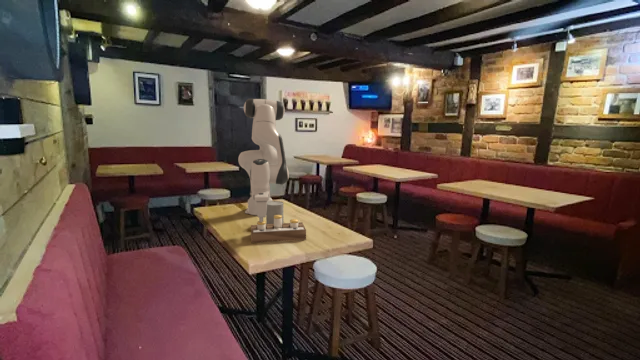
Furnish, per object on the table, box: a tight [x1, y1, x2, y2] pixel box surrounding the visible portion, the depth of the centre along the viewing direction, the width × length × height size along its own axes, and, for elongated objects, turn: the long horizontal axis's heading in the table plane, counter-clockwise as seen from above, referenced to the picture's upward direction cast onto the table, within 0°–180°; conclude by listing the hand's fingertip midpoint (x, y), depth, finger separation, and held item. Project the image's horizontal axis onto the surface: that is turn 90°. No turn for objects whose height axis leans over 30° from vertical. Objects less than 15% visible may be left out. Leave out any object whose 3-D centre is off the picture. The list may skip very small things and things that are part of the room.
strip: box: [253, 227, 304, 233], centre depth 160 cm, size 3×24×1 cm, turn 102°
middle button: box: [274, 215, 282, 229], centre depth 164 cm, size 4×4×8 cm
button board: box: [250, 222, 307, 244], centre depth 165 cm, size 12×26×5 cm, turn 102°
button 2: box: [289, 218, 299, 228], centre depth 166 cm, size 4×4×8 cm
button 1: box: [256, 220, 266, 230], centre depth 163 cm, size 4×4×8 cm
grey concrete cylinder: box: [265, 200, 284, 224], centre depth 184 cm, size 10×10×12 cm
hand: (261, 221), depth 162 cm, fingers closed
